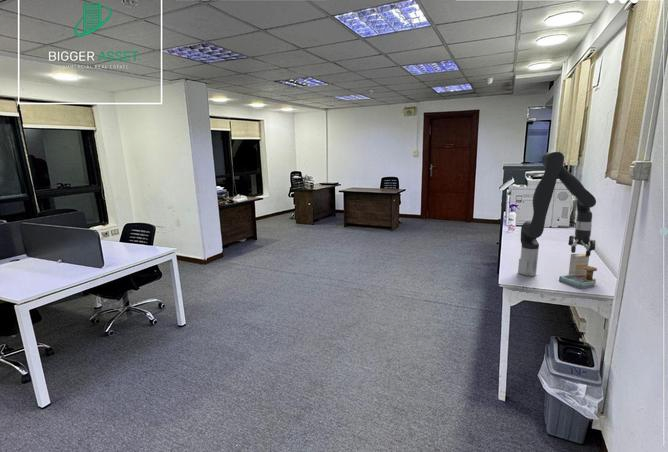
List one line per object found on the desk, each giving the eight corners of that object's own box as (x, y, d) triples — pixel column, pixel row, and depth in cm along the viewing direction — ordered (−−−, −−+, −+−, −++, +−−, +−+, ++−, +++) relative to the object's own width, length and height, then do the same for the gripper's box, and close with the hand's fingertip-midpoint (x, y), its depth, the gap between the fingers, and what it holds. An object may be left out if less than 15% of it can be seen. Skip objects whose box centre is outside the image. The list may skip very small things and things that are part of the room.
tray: (581, 288, 183) (581, 284, 182) (559, 280, 195) (559, 276, 195) (594, 286, 186) (594, 281, 185) (571, 278, 198) (572, 273, 197)
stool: (590, 283, 190) (592, 270, 188) (579, 279, 195) (581, 266, 194) (597, 281, 192) (599, 268, 190) (587, 278, 197) (589, 265, 195)
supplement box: (581, 273, 205) (583, 253, 202) (587, 276, 200) (589, 255, 198) (567, 273, 205) (570, 253, 202) (573, 276, 200) (576, 256, 197)
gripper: (567, 226, 202) (564, 252, 206) (591, 231, 189) (587, 258, 192) (576, 225, 204) (573, 250, 208) (600, 230, 191) (597, 256, 194)
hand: (580, 254), depth 200 cm, fingers open, 8 cm apart
